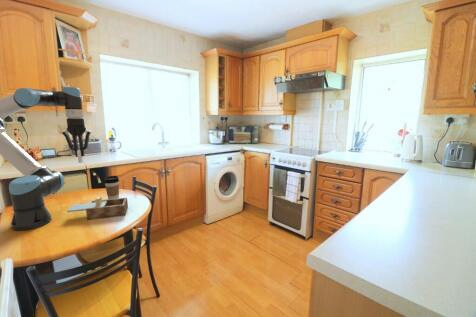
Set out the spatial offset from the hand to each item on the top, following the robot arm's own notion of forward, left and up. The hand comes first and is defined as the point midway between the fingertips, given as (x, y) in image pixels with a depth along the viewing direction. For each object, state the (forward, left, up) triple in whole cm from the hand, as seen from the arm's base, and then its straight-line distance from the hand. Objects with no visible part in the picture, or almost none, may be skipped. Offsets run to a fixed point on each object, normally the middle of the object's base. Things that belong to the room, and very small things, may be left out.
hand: (80, 162), depth 127 cm
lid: (+3, -6, -24) cm, 24 cm away
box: (+12, -6, -28) cm, 31 cm away
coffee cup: (+11, +15, -29) cm, 34 cm away
